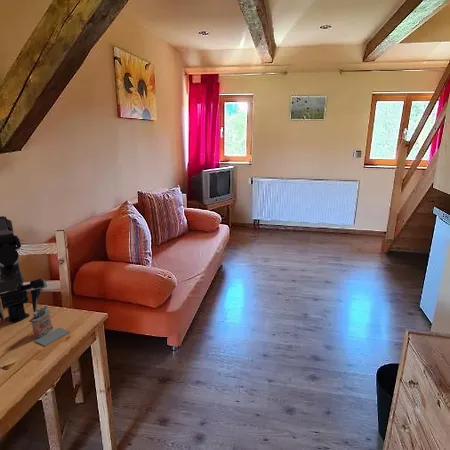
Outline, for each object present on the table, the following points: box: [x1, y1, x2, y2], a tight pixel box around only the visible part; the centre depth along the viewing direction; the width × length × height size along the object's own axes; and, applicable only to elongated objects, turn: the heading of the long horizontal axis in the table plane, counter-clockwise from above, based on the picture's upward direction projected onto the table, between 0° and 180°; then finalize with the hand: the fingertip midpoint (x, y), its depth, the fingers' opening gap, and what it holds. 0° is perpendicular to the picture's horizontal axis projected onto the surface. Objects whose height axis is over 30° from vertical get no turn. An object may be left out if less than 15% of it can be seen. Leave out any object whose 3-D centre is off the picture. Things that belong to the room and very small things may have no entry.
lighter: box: [30, 304, 54, 340], centre depth 125 cm, size 8×3×10 cm, turn 166°
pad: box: [34, 326, 71, 347], centre depth 124 cm, size 6×10×1 cm, turn 151°
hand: (19, 316), depth 111 cm, fingers open, 9 cm apart
